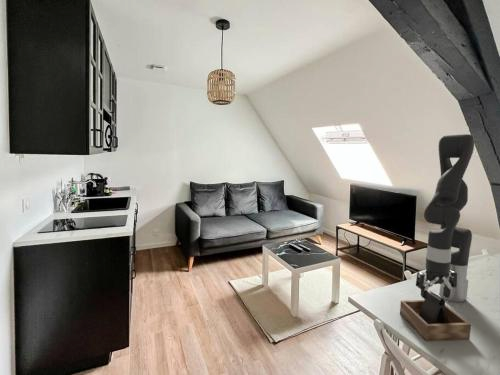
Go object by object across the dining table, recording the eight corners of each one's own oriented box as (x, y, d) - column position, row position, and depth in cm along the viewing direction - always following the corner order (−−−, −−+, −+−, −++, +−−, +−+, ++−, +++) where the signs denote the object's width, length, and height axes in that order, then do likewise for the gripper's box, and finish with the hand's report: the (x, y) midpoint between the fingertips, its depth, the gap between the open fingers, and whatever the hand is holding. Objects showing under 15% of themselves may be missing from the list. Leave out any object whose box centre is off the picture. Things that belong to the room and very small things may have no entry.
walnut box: (437, 312, 111) (438, 299, 111) (469, 339, 96) (471, 324, 95) (399, 313, 111) (400, 300, 110) (426, 341, 95) (427, 326, 94)
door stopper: (429, 330, 99) (431, 300, 98) (416, 320, 105) (418, 292, 103) (449, 327, 101) (452, 297, 99) (436, 317, 107) (438, 289, 105)
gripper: (448, 252, 103) (445, 291, 106) (413, 254, 103) (410, 293, 105) (465, 261, 96) (461, 302, 98) (426, 263, 95) (423, 304, 98)
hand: (435, 297), depth 102 cm, fingers open, 8 cm apart
